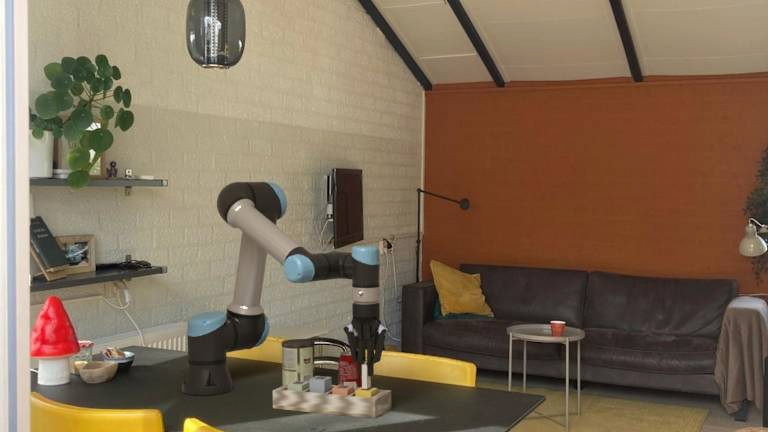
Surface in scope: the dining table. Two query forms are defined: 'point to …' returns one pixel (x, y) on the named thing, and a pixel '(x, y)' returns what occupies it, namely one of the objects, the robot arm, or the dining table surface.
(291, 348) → the coffee can
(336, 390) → the terracotta key
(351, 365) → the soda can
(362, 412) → the wooden tray
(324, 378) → the slate key
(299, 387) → the sage key
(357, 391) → the mustard key
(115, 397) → the dining table surface
